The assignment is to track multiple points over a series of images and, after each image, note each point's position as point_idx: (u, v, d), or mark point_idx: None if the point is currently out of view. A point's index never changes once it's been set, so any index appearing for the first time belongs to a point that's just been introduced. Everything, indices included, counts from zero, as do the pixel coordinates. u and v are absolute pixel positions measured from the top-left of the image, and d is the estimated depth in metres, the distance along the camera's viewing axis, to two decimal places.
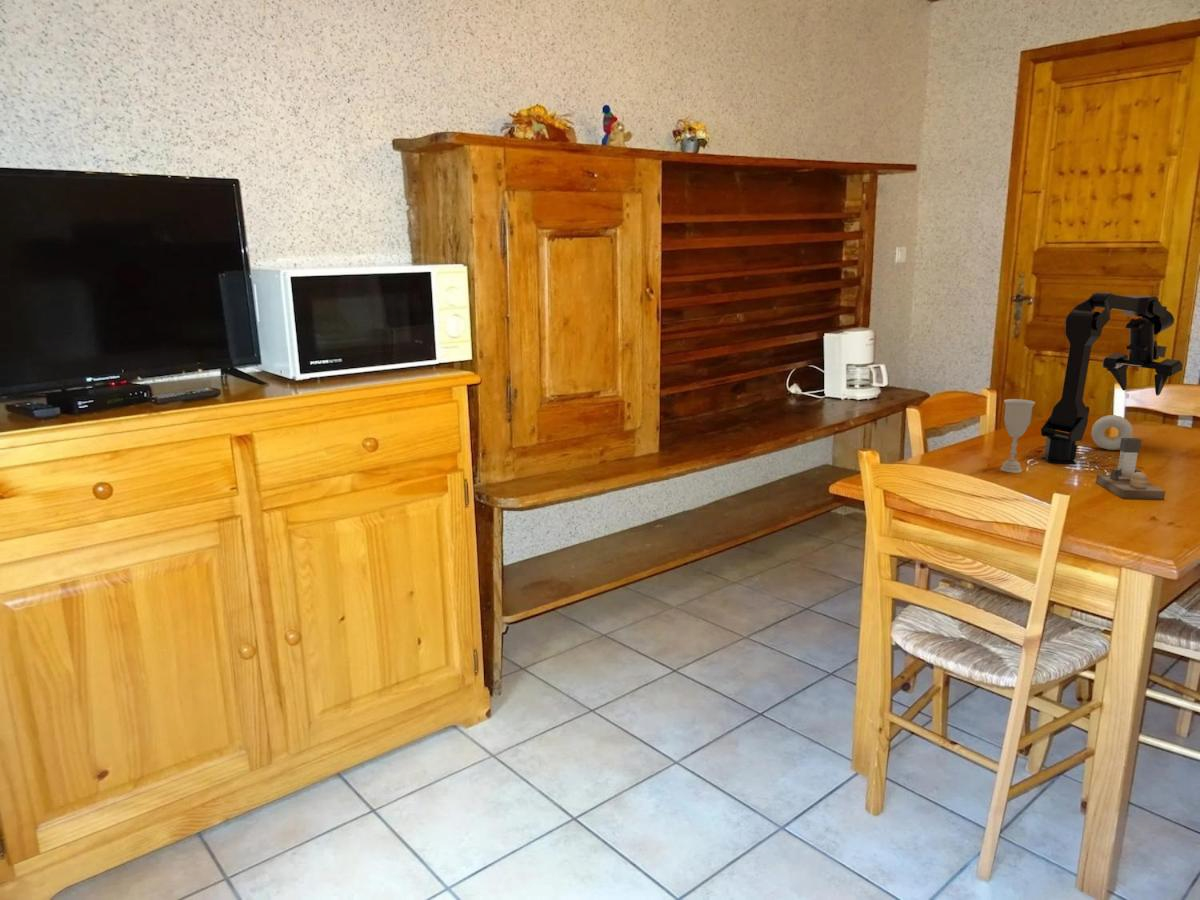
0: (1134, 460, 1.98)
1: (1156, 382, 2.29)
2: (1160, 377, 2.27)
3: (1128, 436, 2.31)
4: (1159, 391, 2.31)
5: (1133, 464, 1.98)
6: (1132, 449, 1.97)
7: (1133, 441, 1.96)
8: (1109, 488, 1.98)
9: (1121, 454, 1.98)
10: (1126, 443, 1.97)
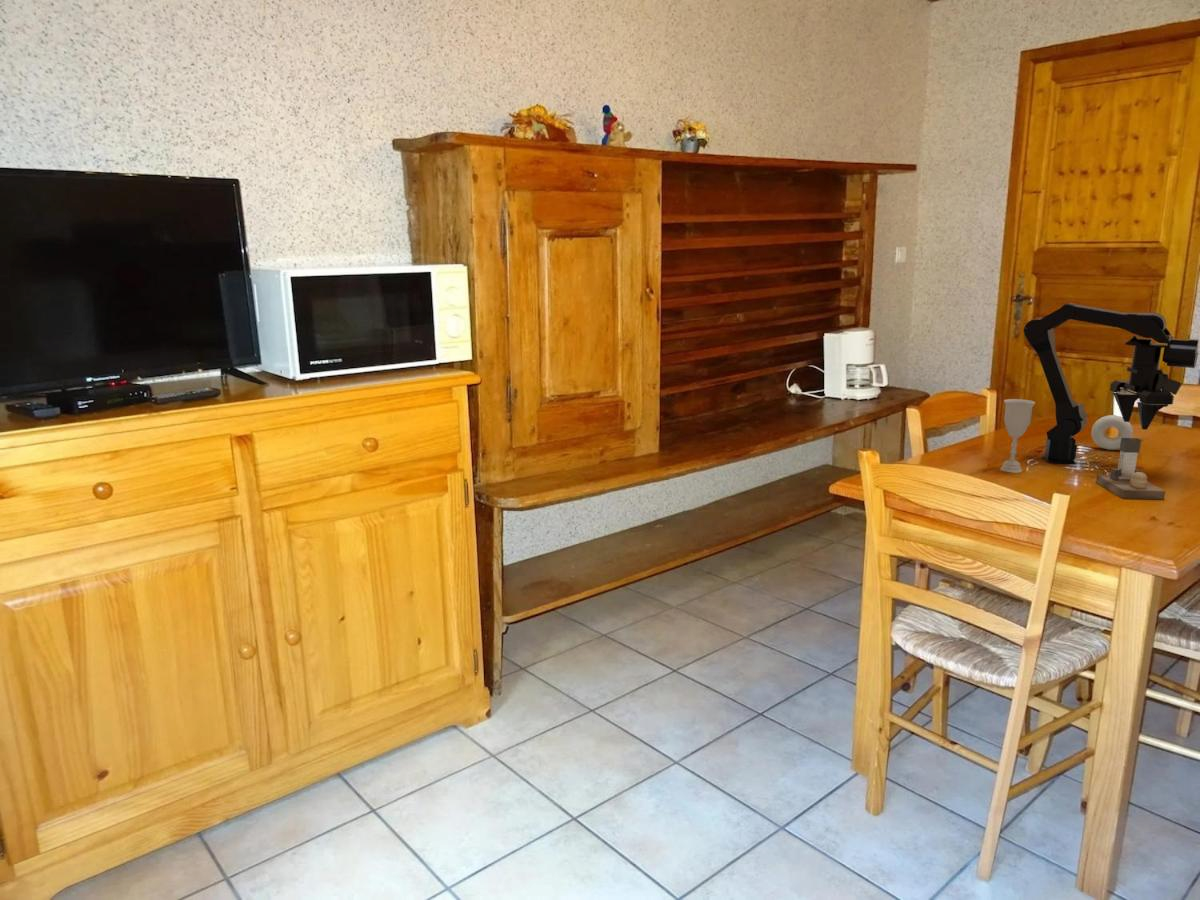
0: (1134, 460, 1.98)
1: (1139, 411, 2.05)
2: (1140, 404, 2.04)
3: (1128, 436, 2.31)
4: (1144, 424, 2.06)
5: (1133, 464, 1.98)
6: (1132, 449, 1.97)
7: (1133, 441, 1.96)
8: (1109, 488, 1.98)
9: (1121, 454, 1.98)
10: (1126, 443, 1.97)
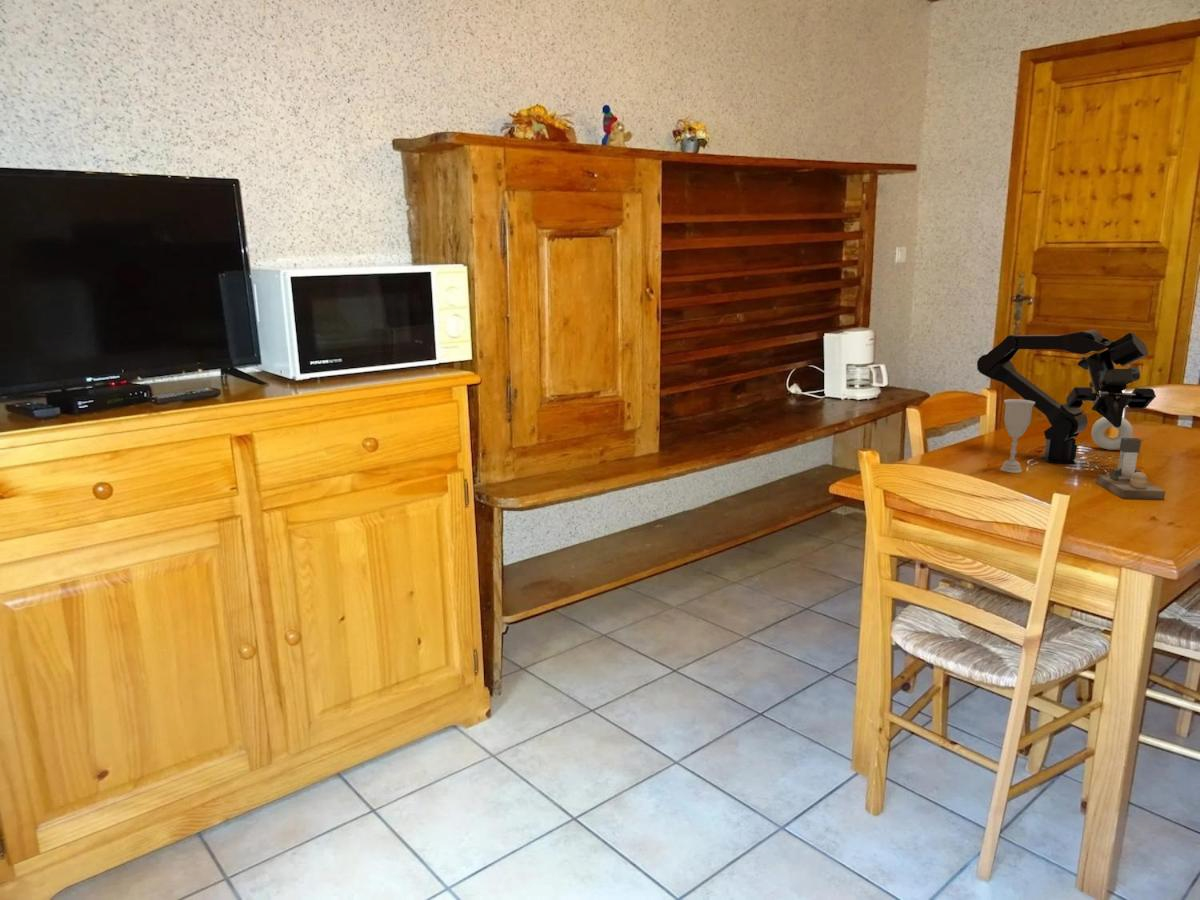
0: (1134, 460, 1.98)
1: None
2: None
3: (1128, 436, 2.31)
4: (1112, 422, 2.04)
5: (1133, 464, 1.98)
6: (1132, 449, 1.97)
7: (1133, 441, 1.96)
8: (1109, 488, 1.98)
9: (1121, 454, 1.98)
10: (1126, 443, 1.97)
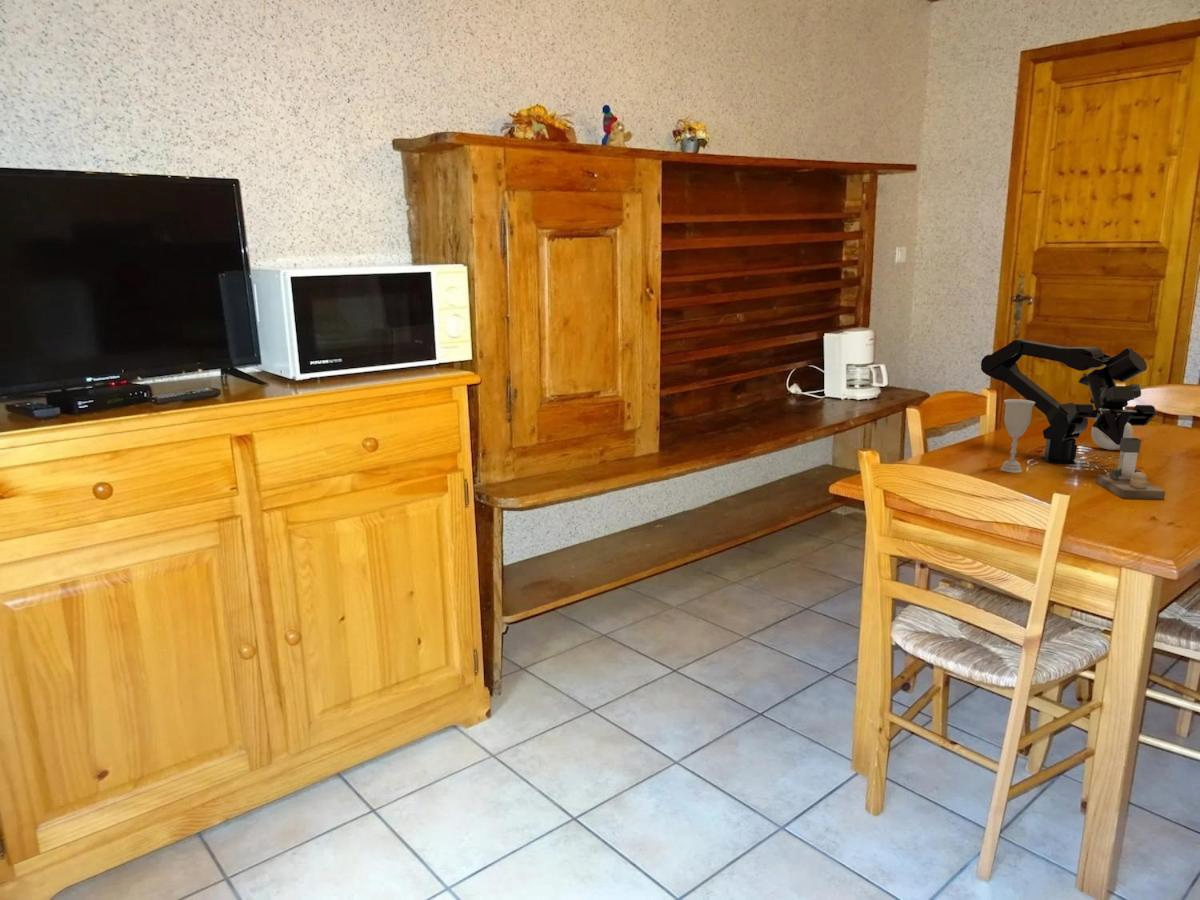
0: (1134, 460, 1.98)
1: None
2: None
3: (1128, 436, 2.31)
4: (1113, 440, 2.04)
5: (1133, 464, 1.98)
6: (1132, 449, 1.97)
7: (1133, 441, 1.96)
8: (1109, 488, 1.98)
9: (1121, 454, 1.98)
10: (1126, 443, 1.97)
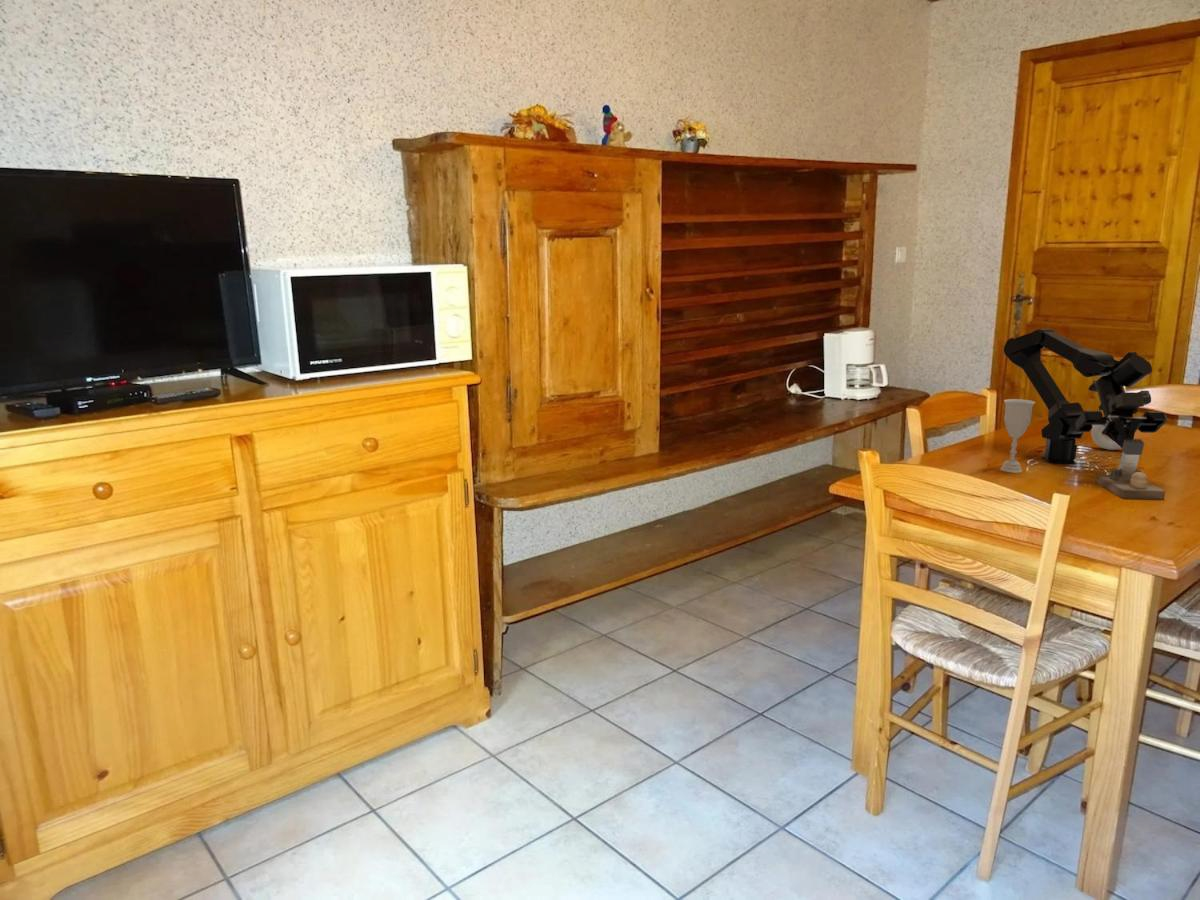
0: (1135, 462, 1.97)
1: None
2: None
3: None
4: None
5: (1134, 465, 1.97)
6: (1134, 451, 1.96)
7: (1136, 444, 1.95)
8: (1109, 488, 1.98)
9: (1123, 456, 1.98)
10: (1129, 446, 1.95)
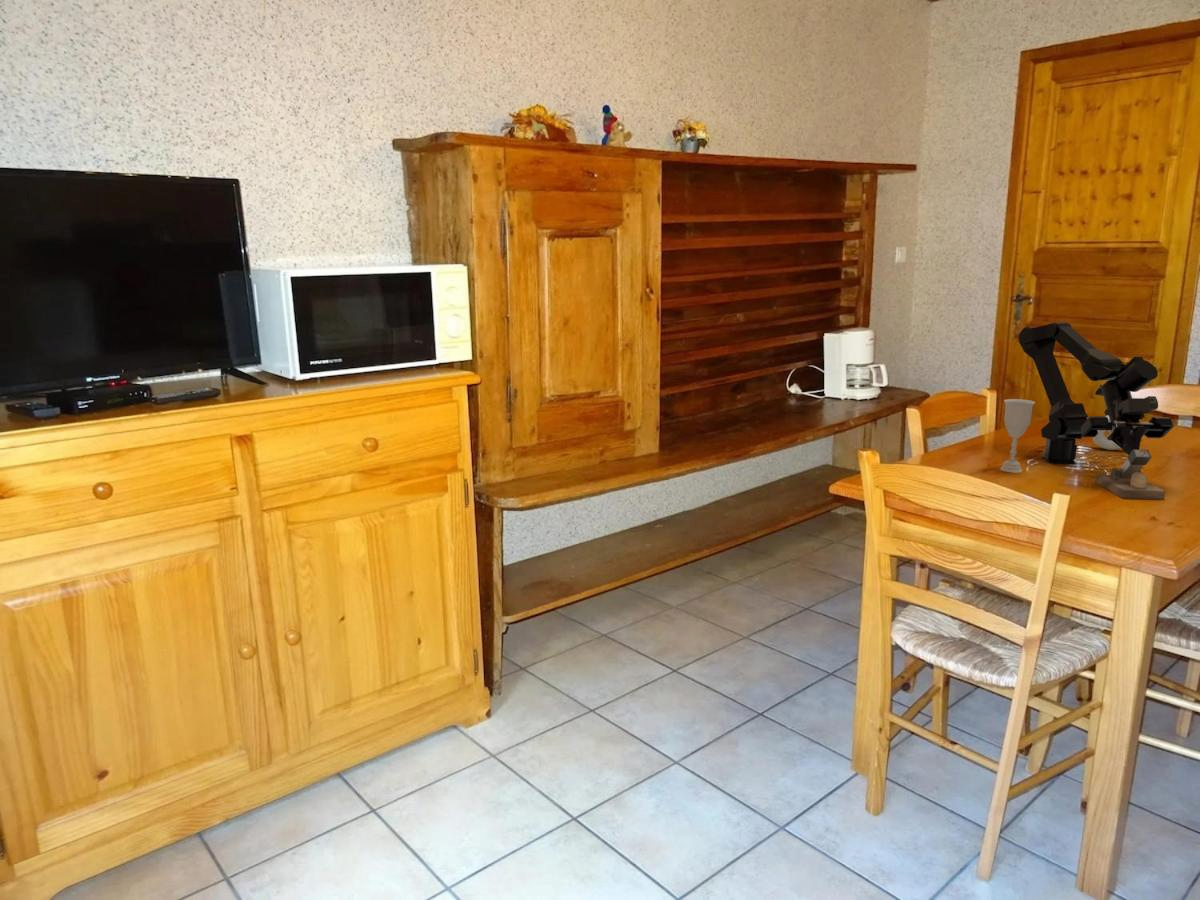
0: (1138, 469, 1.96)
1: None
2: None
3: None
4: (1129, 453, 1.97)
5: (1136, 471, 1.96)
6: (1139, 463, 1.93)
7: (1143, 458, 1.92)
8: (1109, 488, 1.98)
9: (1127, 462, 1.96)
10: (1135, 459, 1.92)
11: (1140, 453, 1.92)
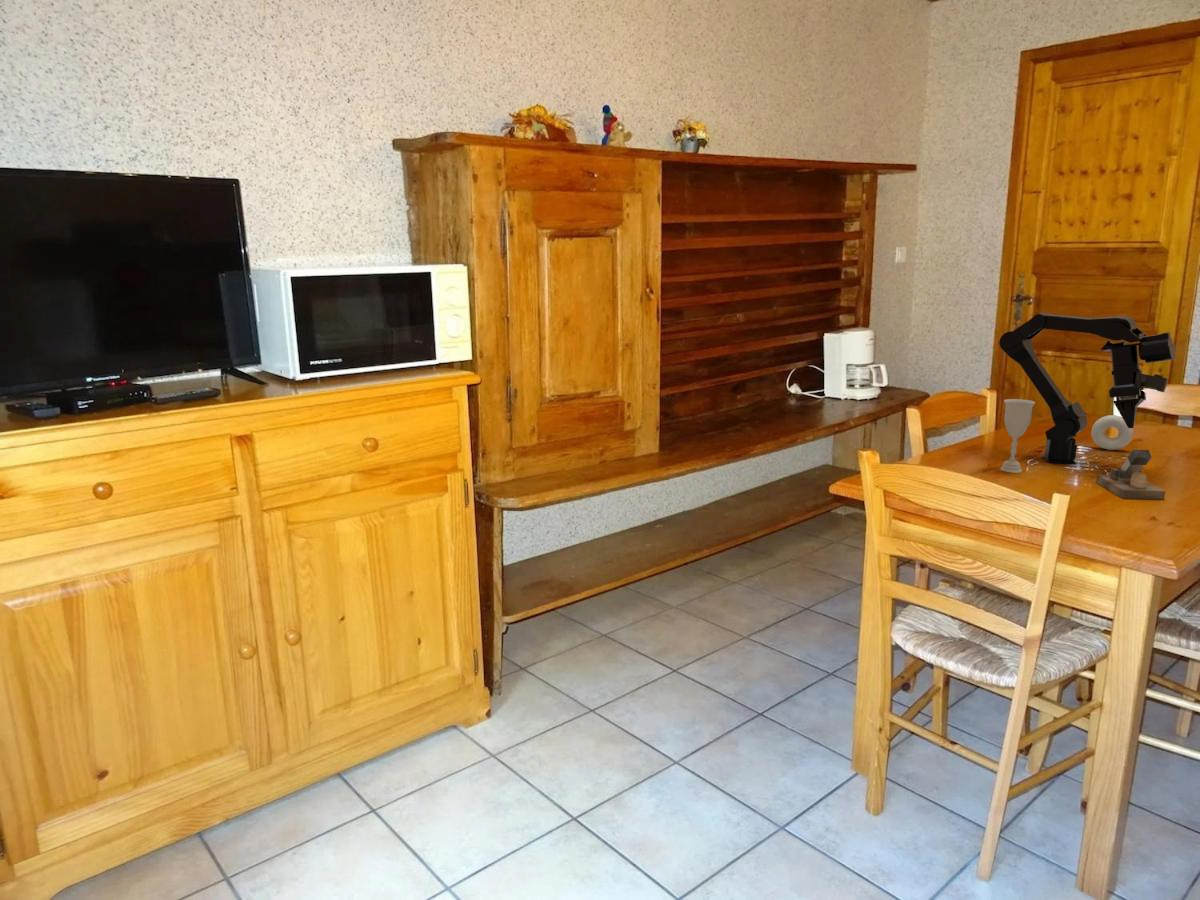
0: (1138, 469, 1.96)
1: None
2: (1114, 402, 2.08)
3: (1128, 436, 2.31)
4: (1128, 422, 2.07)
5: (1136, 471, 1.96)
6: (1139, 463, 1.93)
7: (1143, 458, 1.92)
8: (1109, 488, 1.98)
9: (1127, 462, 1.96)
10: (1135, 459, 1.92)
11: (1140, 453, 1.92)
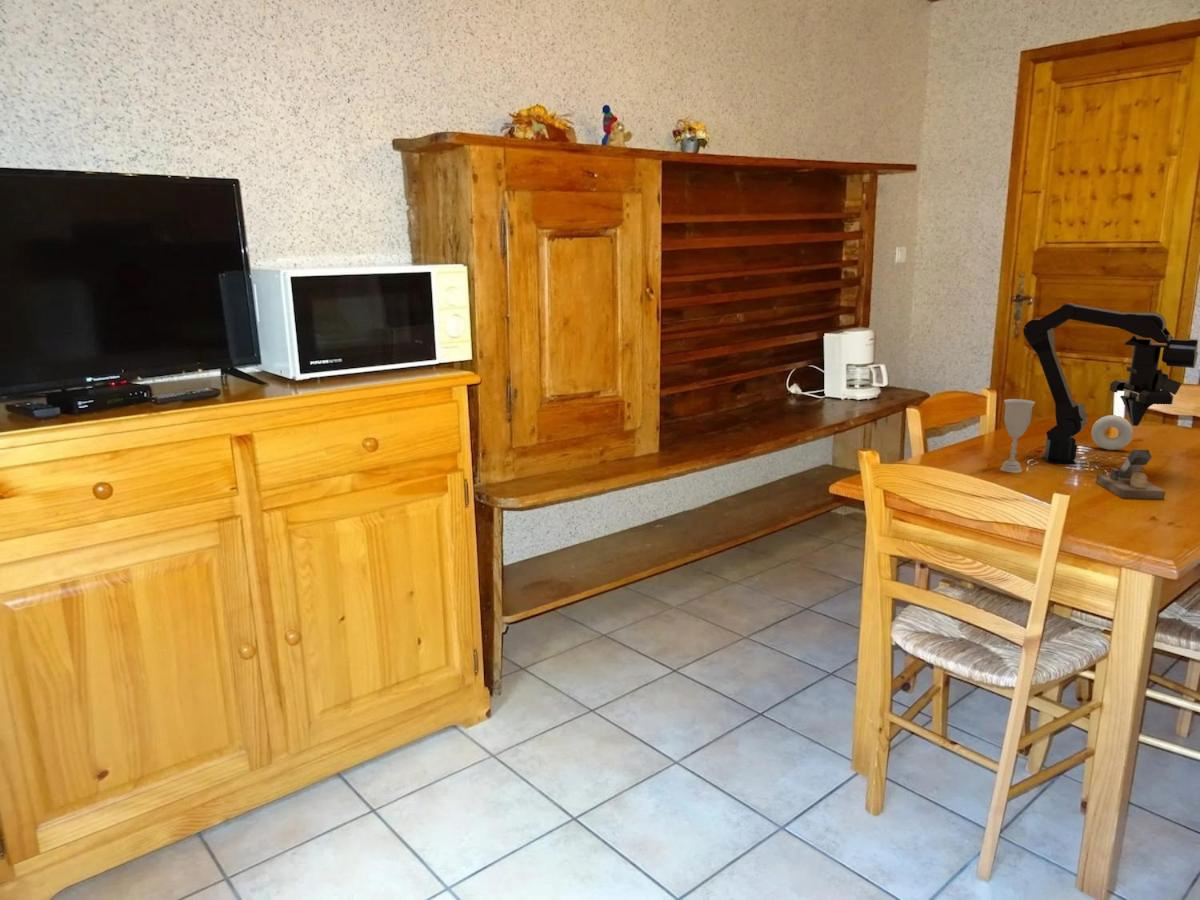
0: (1138, 469, 1.96)
1: (1130, 408, 2.09)
2: (1131, 401, 2.08)
3: (1128, 436, 2.31)
4: (1135, 421, 2.10)
5: (1136, 471, 1.96)
6: (1139, 463, 1.93)
7: (1143, 458, 1.92)
8: (1109, 488, 1.98)
9: (1127, 462, 1.96)
10: (1135, 459, 1.92)
11: (1140, 453, 1.92)
